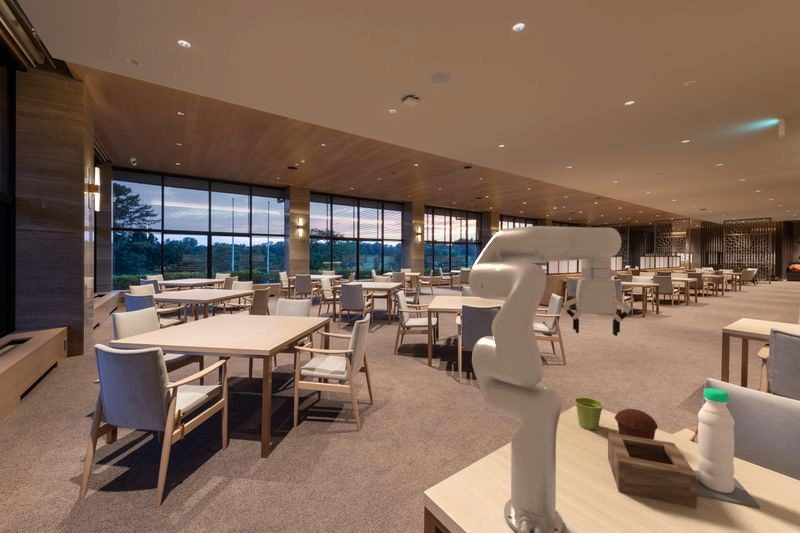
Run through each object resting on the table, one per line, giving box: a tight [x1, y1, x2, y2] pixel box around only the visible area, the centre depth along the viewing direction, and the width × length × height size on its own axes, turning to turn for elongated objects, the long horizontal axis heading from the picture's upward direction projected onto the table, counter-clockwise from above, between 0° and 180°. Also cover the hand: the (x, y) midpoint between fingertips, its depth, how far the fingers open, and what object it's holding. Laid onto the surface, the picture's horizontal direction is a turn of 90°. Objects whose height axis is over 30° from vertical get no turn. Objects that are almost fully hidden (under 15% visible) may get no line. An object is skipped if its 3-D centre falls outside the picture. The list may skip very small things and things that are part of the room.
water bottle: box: [697, 387, 736, 493], centre depth 90 cm, size 7×7×25 cm
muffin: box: [614, 408, 658, 440], centre depth 113 cm, size 12×11×10 cm
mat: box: [693, 469, 761, 509], centre depth 90 cm, size 12×12×1 cm
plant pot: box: [573, 396, 605, 431], centre depth 123 cm, size 9×9×9 cm
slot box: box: [607, 431, 698, 510], centre depth 92 cm, size 16×16×8 cm
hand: (595, 333), depth 100 cm, fingers open, 9 cm apart
